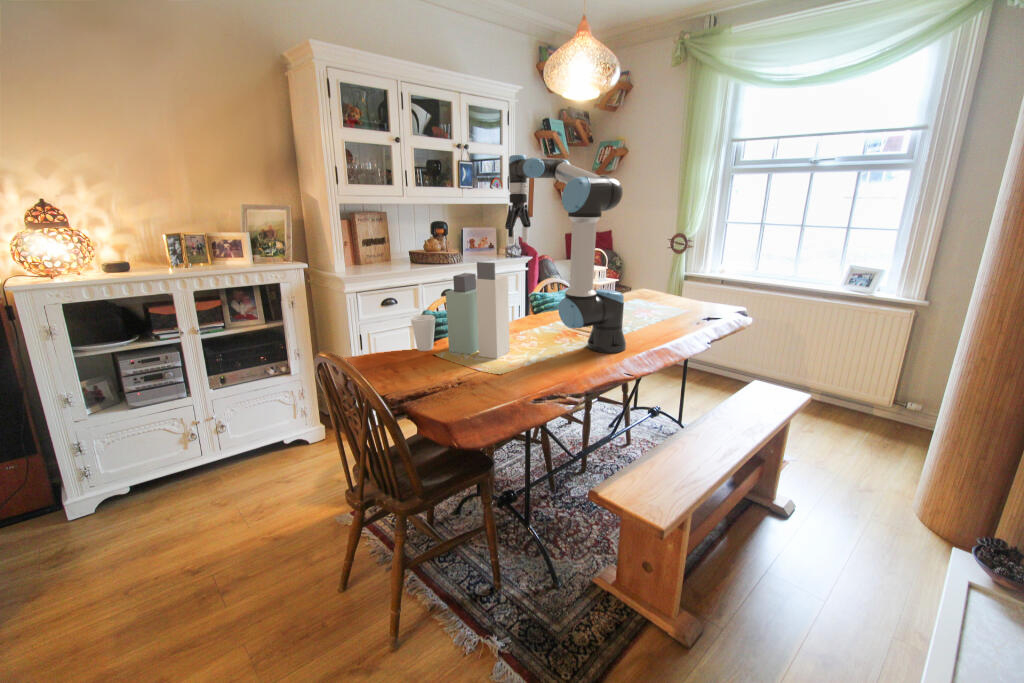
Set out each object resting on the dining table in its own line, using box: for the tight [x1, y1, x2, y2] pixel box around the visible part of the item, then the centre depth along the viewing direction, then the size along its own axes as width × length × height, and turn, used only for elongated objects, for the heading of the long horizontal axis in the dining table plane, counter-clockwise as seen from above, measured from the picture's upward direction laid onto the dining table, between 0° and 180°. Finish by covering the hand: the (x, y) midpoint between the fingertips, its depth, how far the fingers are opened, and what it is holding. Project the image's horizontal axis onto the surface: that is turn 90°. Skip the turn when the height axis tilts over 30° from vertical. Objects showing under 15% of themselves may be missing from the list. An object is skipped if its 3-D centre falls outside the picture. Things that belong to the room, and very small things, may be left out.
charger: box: [452, 272, 477, 292], centre depth 187 cm, size 5×18×6 cm, turn 153°
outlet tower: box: [476, 261, 511, 360], centre depth 179 cm, size 8×10×36 cm
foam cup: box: [410, 314, 436, 352], centre depth 190 cm, size 10×9×13 cm
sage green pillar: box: [445, 288, 479, 355], centre depth 186 cm, size 10×10×24 cm
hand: (518, 243), depth 211 cm, fingers open, 13 cm apart
